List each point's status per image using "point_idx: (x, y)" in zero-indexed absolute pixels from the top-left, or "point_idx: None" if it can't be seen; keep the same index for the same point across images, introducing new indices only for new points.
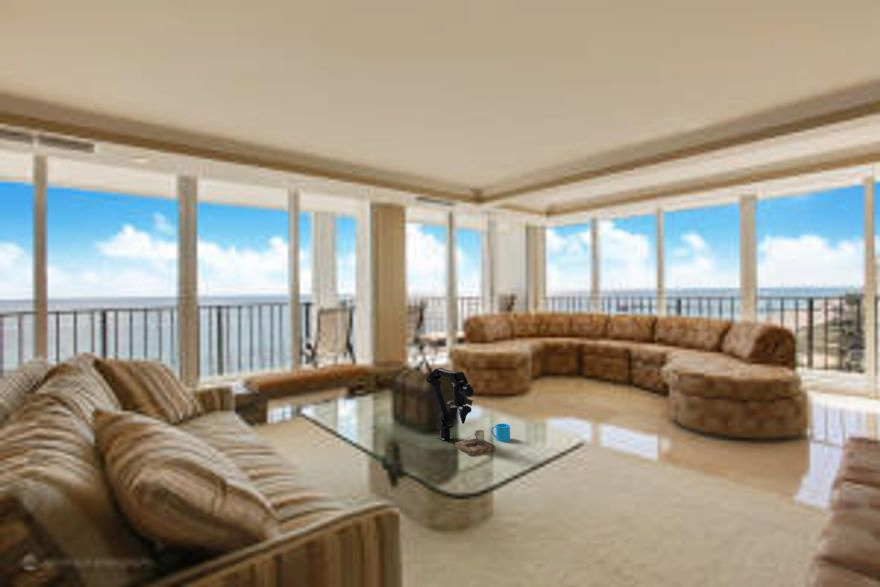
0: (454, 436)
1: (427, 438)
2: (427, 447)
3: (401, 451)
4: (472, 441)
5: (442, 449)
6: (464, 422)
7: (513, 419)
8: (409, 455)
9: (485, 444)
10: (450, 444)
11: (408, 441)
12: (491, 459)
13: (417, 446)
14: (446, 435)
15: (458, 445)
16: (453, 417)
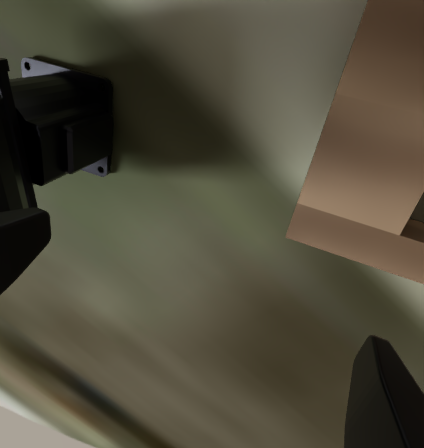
0: (60, 3)
1: None
2: (157, 320)
3: (129, 408)
4: None
5: (253, 304)
6: (400, 358)
7: None
8: (197, 433)
9: None
10: (211, 194)
11: (20, 299)
12: None
13: (110, 332)
14: (91, 160)
15: (349, 253)
16: (6, 277)
